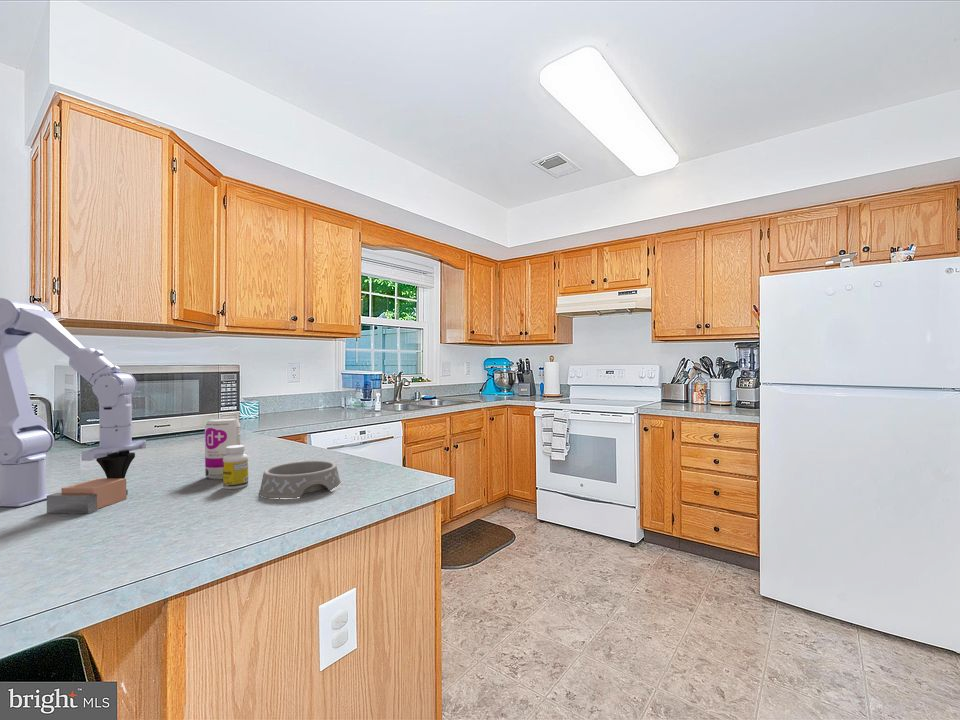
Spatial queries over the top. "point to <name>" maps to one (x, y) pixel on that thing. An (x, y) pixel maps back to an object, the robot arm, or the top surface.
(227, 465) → the supplement bottle
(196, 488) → the top surface
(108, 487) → the block
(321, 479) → the dog bowl
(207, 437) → the supplement can
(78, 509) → the rail
